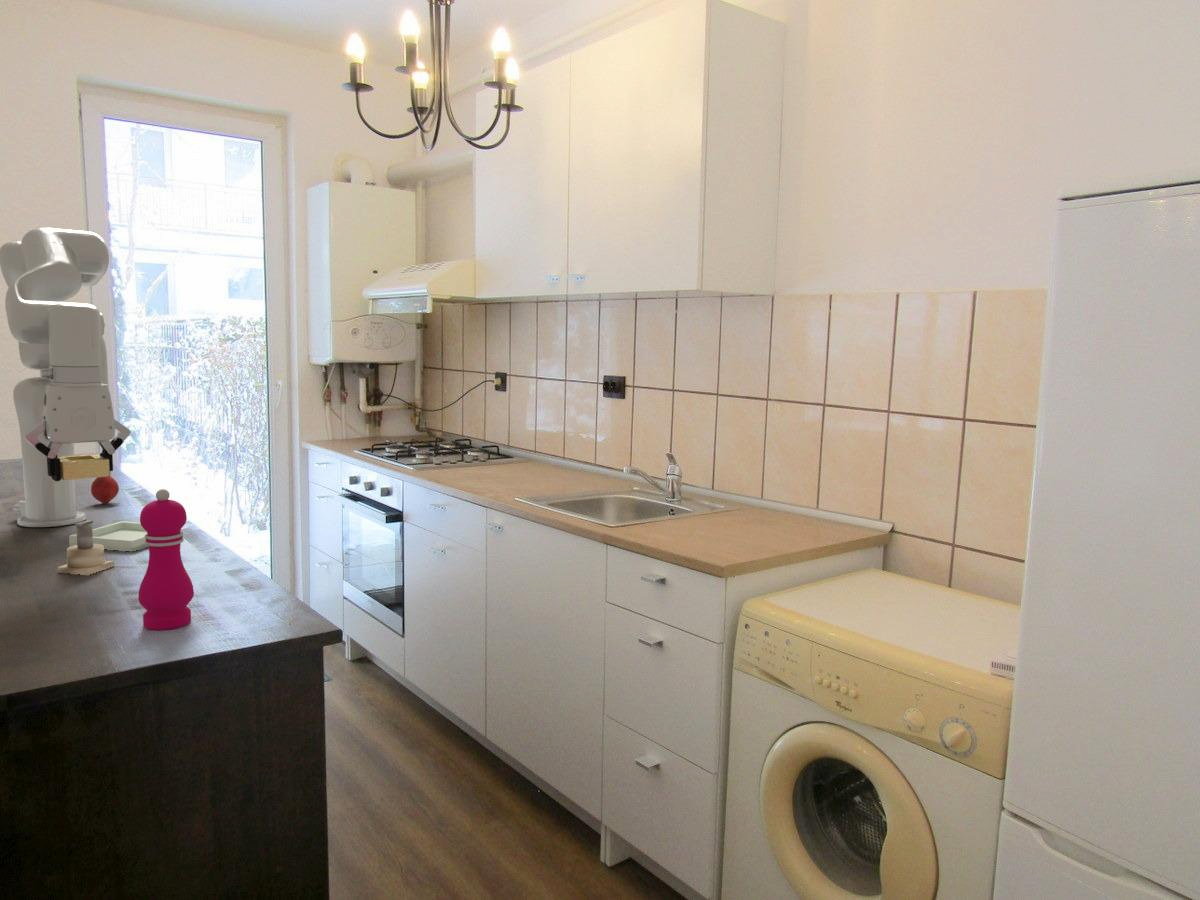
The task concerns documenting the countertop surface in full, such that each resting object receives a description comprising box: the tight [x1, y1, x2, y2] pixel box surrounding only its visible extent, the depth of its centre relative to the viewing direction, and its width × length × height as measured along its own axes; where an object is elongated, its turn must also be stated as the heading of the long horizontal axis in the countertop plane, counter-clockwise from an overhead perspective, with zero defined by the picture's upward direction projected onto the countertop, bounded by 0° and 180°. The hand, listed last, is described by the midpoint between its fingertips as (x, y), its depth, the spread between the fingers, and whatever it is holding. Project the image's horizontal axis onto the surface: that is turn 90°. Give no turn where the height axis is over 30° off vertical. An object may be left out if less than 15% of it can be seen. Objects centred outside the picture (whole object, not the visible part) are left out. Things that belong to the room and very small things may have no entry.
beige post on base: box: [57, 519, 115, 576], centre depth 149 cm, size 6×6×9 cm
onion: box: [90, 475, 120, 505], centre depth 204 cm, size 6×6×8 cm
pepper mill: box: [137, 488, 195, 631], centre depth 122 cm, size 7×7×20 cm
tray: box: [68, 520, 182, 552], centre depth 169 cm, size 14×14×2 cm
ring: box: [57, 453, 111, 480], centre depth 148 cm, size 7×9×3 cm
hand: (81, 477), depth 147 cm, fingers closed on ring, 7 cm apart
